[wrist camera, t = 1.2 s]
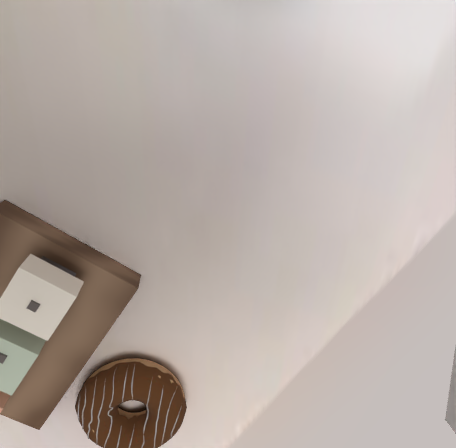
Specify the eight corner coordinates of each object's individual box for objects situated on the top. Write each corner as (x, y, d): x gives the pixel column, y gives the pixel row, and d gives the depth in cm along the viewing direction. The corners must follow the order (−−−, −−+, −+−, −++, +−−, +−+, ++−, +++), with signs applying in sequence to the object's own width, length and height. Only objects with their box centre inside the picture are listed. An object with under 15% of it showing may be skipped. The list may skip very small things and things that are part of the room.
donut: (207, 385, 43) (209, 415, 40) (141, 447, 45) (138, 481, 42) (126, 330, 40) (120, 356, 36) (59, 398, 42) (47, 430, 38)
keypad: (-84, 355, 39) (-115, 387, 35) (4, 199, 35) (-19, 216, 31) (47, 410, 42) (32, 445, 38) (140, 275, 38) (136, 298, 34)
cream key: (3, 297, 33) (-11, 315, 30) (30, 253, 32) (18, 268, 29) (56, 323, 34) (47, 342, 32) (84, 281, 33) (76, 298, 31)
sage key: (-30, 352, 34) (-46, 373, 32) (-5, 311, 33) (-20, 330, 31) (22, 375, 35) (10, 397, 33) (47, 336, 34) (37, 356, 32)
